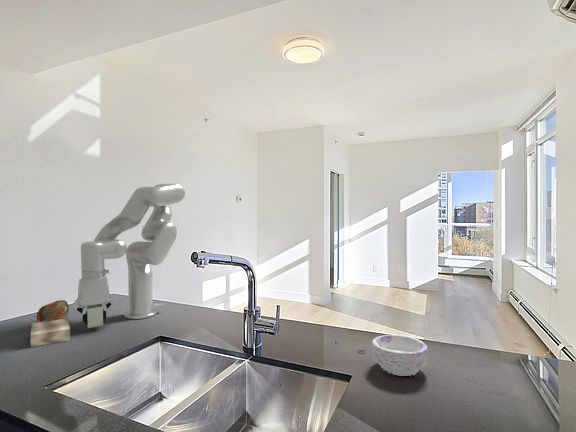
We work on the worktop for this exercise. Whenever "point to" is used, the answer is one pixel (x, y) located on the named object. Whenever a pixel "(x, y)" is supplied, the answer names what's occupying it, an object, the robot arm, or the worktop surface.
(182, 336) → the worktop surface
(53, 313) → the tin
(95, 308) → the block
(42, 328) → the riser block
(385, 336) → the white round bowl
